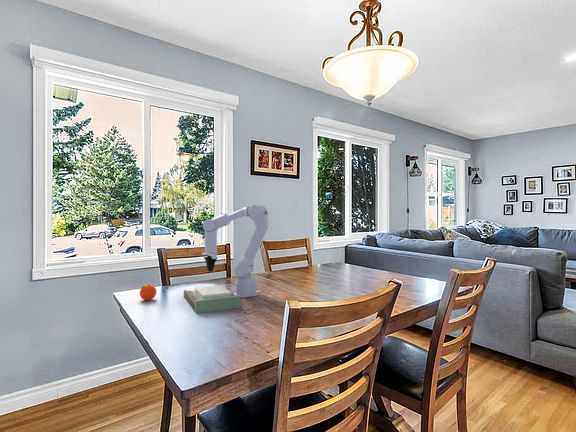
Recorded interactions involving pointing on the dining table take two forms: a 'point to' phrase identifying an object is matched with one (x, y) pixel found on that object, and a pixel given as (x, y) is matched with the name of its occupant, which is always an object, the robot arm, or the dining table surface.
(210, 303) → the bar
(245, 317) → the dining table surface
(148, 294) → the clementine
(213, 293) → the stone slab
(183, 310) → the dining table surface
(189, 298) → the roller track
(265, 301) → the dining table surface
